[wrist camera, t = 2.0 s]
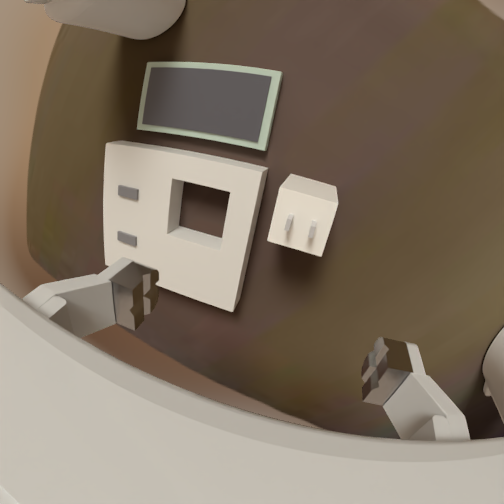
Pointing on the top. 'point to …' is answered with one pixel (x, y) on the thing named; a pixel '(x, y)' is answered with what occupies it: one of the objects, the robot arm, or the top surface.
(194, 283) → the outlet plate
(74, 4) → the pill bottle
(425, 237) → the top surface
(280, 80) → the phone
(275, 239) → the charger
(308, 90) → the top surface
